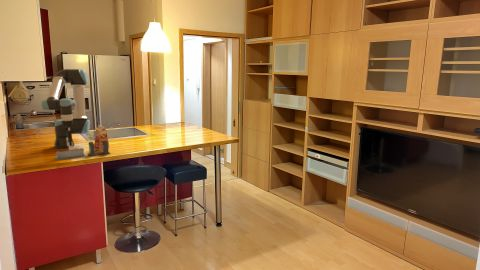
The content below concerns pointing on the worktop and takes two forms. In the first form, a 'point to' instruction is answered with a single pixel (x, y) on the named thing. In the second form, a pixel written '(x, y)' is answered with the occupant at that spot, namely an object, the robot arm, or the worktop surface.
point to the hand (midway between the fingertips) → (70, 147)
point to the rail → (70, 153)
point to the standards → (92, 152)
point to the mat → (70, 158)
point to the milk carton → (100, 138)
